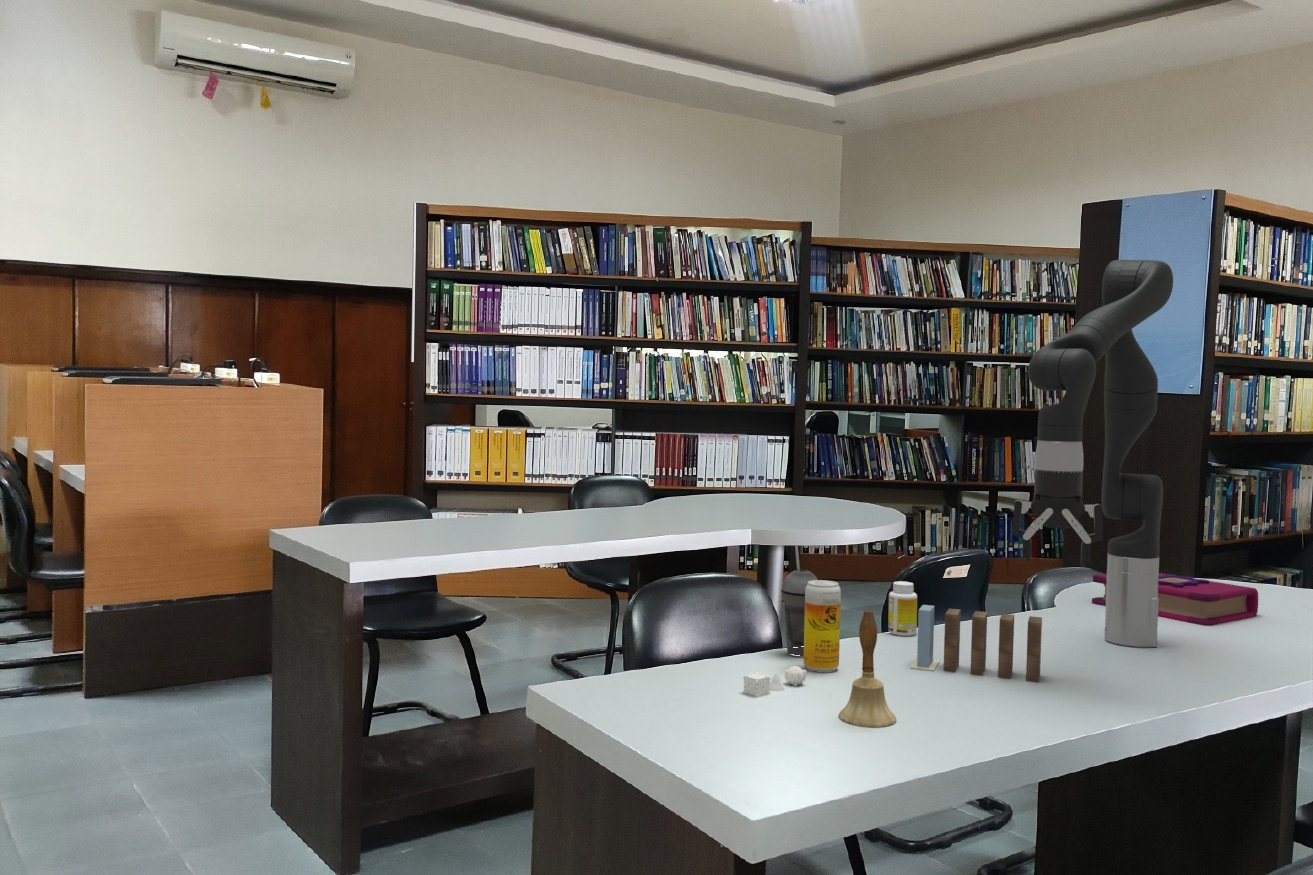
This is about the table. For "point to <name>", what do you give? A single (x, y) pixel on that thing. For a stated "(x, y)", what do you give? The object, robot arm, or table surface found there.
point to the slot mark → (931, 668)
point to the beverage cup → (795, 606)
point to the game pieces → (761, 685)
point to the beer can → (822, 625)
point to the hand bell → (867, 685)
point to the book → (1198, 600)
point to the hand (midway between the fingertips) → (1055, 563)
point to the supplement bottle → (902, 609)
